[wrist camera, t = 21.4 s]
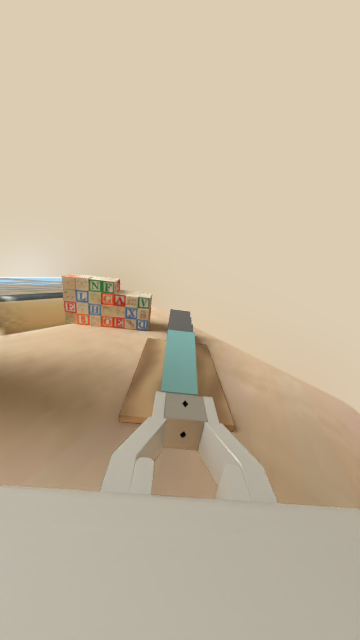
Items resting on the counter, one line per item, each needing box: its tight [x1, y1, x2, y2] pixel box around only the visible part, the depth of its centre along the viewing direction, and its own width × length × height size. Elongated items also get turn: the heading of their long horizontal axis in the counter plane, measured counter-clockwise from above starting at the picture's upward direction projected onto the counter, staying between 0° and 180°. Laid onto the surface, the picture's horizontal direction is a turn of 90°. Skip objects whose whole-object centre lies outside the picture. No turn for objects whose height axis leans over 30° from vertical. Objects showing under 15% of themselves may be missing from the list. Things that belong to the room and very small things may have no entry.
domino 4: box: [161, 330, 198, 396], centre depth 29 cm, size 5×2×12 cm
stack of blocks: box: [62, 274, 152, 331], centre depth 49 cm, size 21×6×12 cm, turn 93°
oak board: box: [119, 338, 235, 431], centre depth 32 cm, size 14×22×1 cm, turn 1°
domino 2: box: [169, 315, 191, 324], centre depth 38 cm, size 5×2×12 cm
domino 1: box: [170, 309, 190, 317], centre depth 42 cm, size 5×2×12 cm
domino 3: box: [168, 322, 193, 332], centre depth 33 cm, size 5×2×12 cm
